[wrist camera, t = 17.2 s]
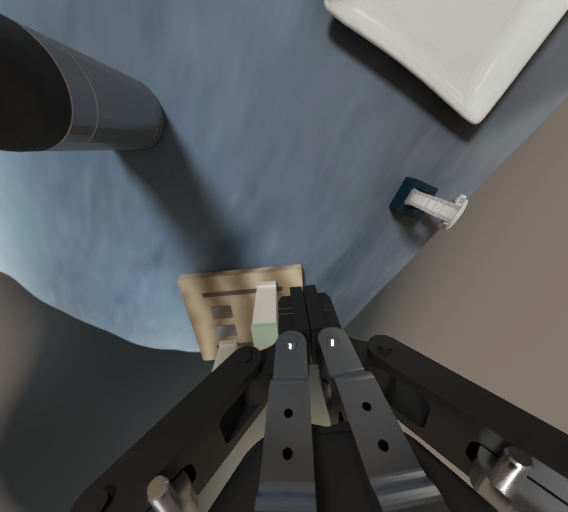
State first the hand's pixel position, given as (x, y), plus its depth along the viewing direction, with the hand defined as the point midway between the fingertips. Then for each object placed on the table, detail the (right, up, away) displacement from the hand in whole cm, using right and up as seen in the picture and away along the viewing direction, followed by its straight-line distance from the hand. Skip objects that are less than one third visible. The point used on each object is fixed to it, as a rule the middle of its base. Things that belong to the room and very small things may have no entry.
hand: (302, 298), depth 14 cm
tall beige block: (-4, -4, +31) cm, 32 cm away
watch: (+21, +13, +27) cm, 36 cm away
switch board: (-9, -10, +37) cm, 39 cm away
